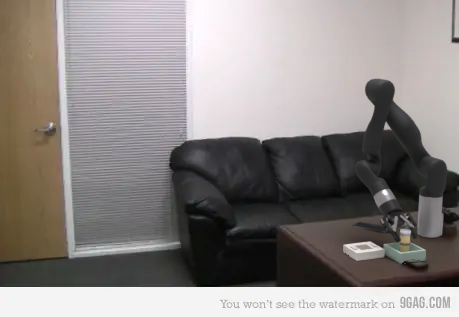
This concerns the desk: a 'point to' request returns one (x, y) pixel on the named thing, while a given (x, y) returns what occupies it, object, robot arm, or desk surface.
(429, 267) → the desk surface
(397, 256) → the parts tray
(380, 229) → the phone
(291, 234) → the desk surface
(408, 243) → the white and tan cylinder
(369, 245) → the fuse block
